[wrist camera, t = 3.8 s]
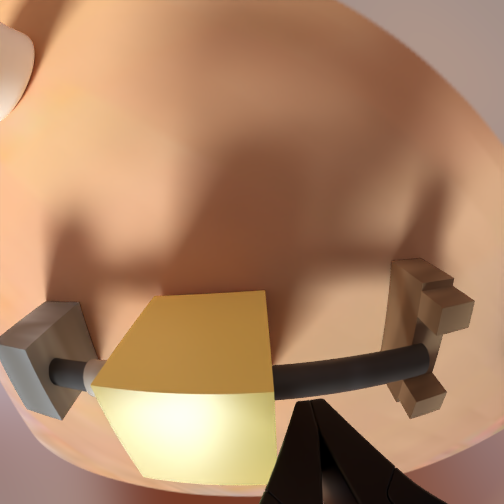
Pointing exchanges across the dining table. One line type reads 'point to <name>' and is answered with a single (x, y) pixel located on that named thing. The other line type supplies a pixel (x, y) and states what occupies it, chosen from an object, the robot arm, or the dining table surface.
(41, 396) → the cord fixture
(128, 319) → the dining table surface
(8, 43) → the drinking glass
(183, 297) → the sleeve
